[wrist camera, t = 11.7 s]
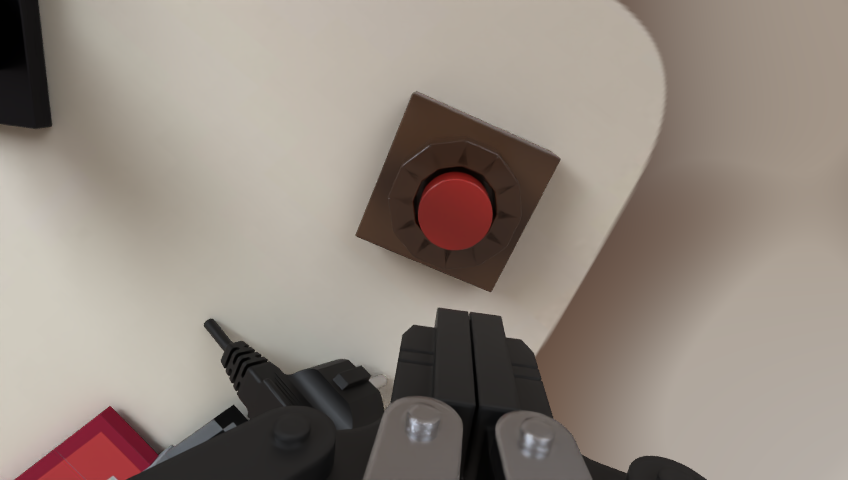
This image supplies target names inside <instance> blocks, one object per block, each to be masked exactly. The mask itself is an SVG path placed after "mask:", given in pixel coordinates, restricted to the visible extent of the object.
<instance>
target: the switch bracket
mask: <svg viewBox="0 0 848 480" xmlns="http://www.w3.org/2000/svg"><path fill="white" fill-rule="evenodd" d="M0 124H4V125H11V126H18V127H26V128H33V129H38V128H45V127H51V126H52V122H51V113H50V104H49V96H48V87H47V78H46V69H45V60H44V51H43V43H42V34H41V25H40V16H39V7H38V0H0Z"/></svg>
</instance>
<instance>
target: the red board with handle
mask: <svg viewBox="0 0 848 480" xmlns="http://www.w3.org/2000/svg"><path fill="white" fill-rule="evenodd" d="M247 421H248V420H247V419H246V417H245V416H244V415H243V414H242V413H241V412H240V411H239V410H238V409H237V408H236V407H235V406H234V405H232V406H231V407H230V408H228V409H227V410H225V411H224V412H223V413H221V414H220V415H218V416H217V417H216V418H214V419H213V420H211V421H210V422H209V423H207V424H206V425H204V426H203V427H202V428H200V429H199V430H197V431H196V432H195V433H193V434H192V435H190V436H189V437H187V438H186V439H185V440H183V441H182V442H180V443H179V444H178V445H176V446H175V447H174V446H173V445H171V446H170V447H168V448H167V449H166V450H164V451H163V452H161V453H160V454H159V455H158V454H157V453H156V452H155V451H154V450H153V449H152V448H151V447H150V446H149V445H148V444H147V443H146V442H145V441H144V440H143V439H142V438H141V437H140V436H139V435H138V434H137V433H136V432H135V431H134V430H133V429H132V428H131V427H130V426H129V425H128V424H127V423H126V422H125V421H124V420H123V419H122V418H121V417H120V416H119V414H118V413H117V412H116V411H115V410H114V409H113V408H112V407H111V406H109V407H108V408H107V409H105V410H104V411H103V412H102V413H100V414H99V415H98V416H96V417H95V418H94V419H92V420H91V421H90V422H89V423H87V424H86V425H85V426H83V427H82V428H81V429H80V430H78V431H77V432H76V433H74V434H73V435H72V436H70V437H69V438H68V439H67V440H65V441H64V442H63V443H61V444H60V445H59V446H57V447H56V448H55V449H54V450H52V451H51V452H50V453H48V454H47V455H46V456H45V457H43V458H42V459H41V460H39V461H38V462H37V463H35V464H34V465H33V466H32V467H30V468H29V469H28V470H26V471H25V472H24V473H23V474H21V475H20V476H19V477H17V478H16V479H15V480H126V479H128V478H130V477H132V476H134V475H136V474H138V473H140V472H143V471H145V470H147V469H149V468H151V467H153V466H155V465H157V464H159V463H161V462H163V461H165V460H168V459H170V458H172V457H174V456H176V455H178V454H180V453H182V452H184V451H186V450H188V449H190V448H192V447H195V446H197V445H199V444H201V443H203V442H205V441H207V440H209V439H211V438H213V437H215V436H217V435H220V434H222V433H224V432H226V431H228V430H230V429H232V428H234V427H236V426H238V425H240V424H242V423H245V422H247Z"/></svg>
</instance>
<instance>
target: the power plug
mask: <svg viewBox="0 0 848 480" xmlns="http://www.w3.org/2000/svg"><path fill="white" fill-rule="evenodd" d="M204 327H205V328H206V329H207V331H208V332H209V333H210V334H211V336H212V337H213V338H214V339H215V341H216V342H217V343H218V344H219V346H220V347H221V348H222V349H223V350H224V353H223V356H222V358H221V363H222V365H223V367H224V368H226V373H227V375H228V376H230V378H229V379H230V381H231V383H234V385H233V387H234V389H235V391H238V392H237V395H238V397H239V398H240V400H241V401H242V402H243V404H244V405H245V406H246V407H247V410H248V417H249V418H250V420H251V419H253V418H255V417H257V416H259V415H261V414H263V413H265V412H268V411H270V410H272V409H275V408H279V407H284V406H295V405H296V406H306V407H311V408H314V409H317V410H319V411H321V412H323V413H324V414H326V415H327V416H328V417H329V418H330V419H331V420H332V421H333V423H334V425H335V428H336V430H345V429H353V428H359V427H363V426H367V425H369V424H371V423H374V422H375V421H377V420H379V419H380V418H381V417H382V416H383V413H384V407H383V401H382V398H381V394H380V392H379V390H378V388H381V387H383V386H385V385H386V383H387V378H386V376H385V375H383V374H380V375H377V376H374V377H372V378H370V377H371V375H370V374H369V373H368V372H367V371H366V370H365V369H364V368H363V367H362V366H359V367H355V366H354V365H353V364H352V363H351V362H350V361H349V360H346V359H338V360H334V361H331V362H328V363H325V364H321V365H318V366H315V367H311V368H308V369H305V370H301V371H299V372H296V373H294V374H291V375H286V374H284V373H283V372H282V371H281V370H280V369H279V368H278V367H277V366H275V365H274V364H273V363H271V362H267V359H266V358H265V357H261V354H259V353H258V352H255V350H254V349H253V348H251V347H249V345H247V344H246V343H245V342H243V341H238V342H232V341H231V340H230V339H229V338H228V336H227V335H226V334H225V333H224V332H223V330H222V329H221V328H220V327H219V326H218V324H217V323H216V322H215V321H214V320H213V319H209V320H207V321H206V322H205V323H204ZM248 347H249V348H248Z"/></svg>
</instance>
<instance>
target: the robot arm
mask: <svg viewBox="0 0 848 480" xmlns="http://www.w3.org/2000/svg"><path fill="white" fill-rule="evenodd" d="M126 480H707V479H705V478H704V477H702V476H701V475H699V474H698V473H696V472H695V471H693V470H692V469H690V468H689V467H687V466H685V465H683V464H680V463H678V462H676V461H674V460H670V459H667V458H663V457H658V456H643V457H639V458H637V459H635V460H634V461H633V462H632V463H631V465H630V466H629V470H628V472H627V473H625V472H622V471H619V470H617V469H614V468H611V467H609V466H606V465H603V464H600V463H598V462H596V461H593V460H590V459H589V458H587V457H585V456H583V455H582V454H581V452H580V450H579V448H578V446H577V443H576V441H575V439H574V437H573V435H572V434H571V433H570V432H569V431H568V430H567V429H566V428H565V427H564V426H563V425H562V424H560V423H559V422H558V421H556V420H554V419H553V416H552V413H551V409H550V406H549V402H548V399H547V396H546V392H545V389H544V386H543V382H542V381H541V376H540V373H539V370H538V366H537V363H536V359H535V356H534V353H533V352H532V351H531V349H530V348H529V347H528V346H527V345H526V344H525V343H524V342H523V341H522V340H520V339H513V338H506V336H505V332H504V327H503V322H502V318H501V316H496V315H489V314H482V313H475V312H470V314H469V315H468V312H467V311H459V310H452V309H445V308H438V309H437V314H436V320H435V327H434V328H433V327H425V326H418V325H413V326H412V327H411V328H409V329H408V330H407V331H406V332H405V333H404V334H403V335H402V341H401V346H400V352H399V358H398V363H397V369H396V375H395V380H394V386H393V392H392V397H391V403H390V405H388V407H387V408H386V409H385V411H384V413H383V416H382V417H381V418H380V419H379V420H377V421H375V422H374V423H371V424H369V425H367V426H363V427H359V428H353V429H345V430H336V428H335V425H334V423H333V421H332V420H331V419H330V418H329V417H328V416H327V415H326V414H324V413H323V412H321V411H319V410H317V409H314V408H311V407H306V406H296V405H295V406H284V407H279V408H275V409H272V410H270V411H268V412H265V413H263V414H261V415H259V416H257V417H255V418H253V419H251V420H249V421H247V422H245V423H242V424H240V425H238V426H236V427H234V428H232V429H230V430H228V431H226V432H224V433H222V434H220V435H217V436H215V437H213V438H211V439H209V440H207V441H205V442H203V443H201V444H199V445H197V446H195V447H192V448H190V449H188V450H186V451H184V452H182V453H180V454H178V455H176V456H174V457H172V458H170V459H168V460H165V461H163V462H161V463H159V464H157V465H155V466H153V467H151V468H149V469H147V470H145V471H143V472H140V473H138V474H136V475H134V476H132V477H130V478H128V479H126Z"/></svg>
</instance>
